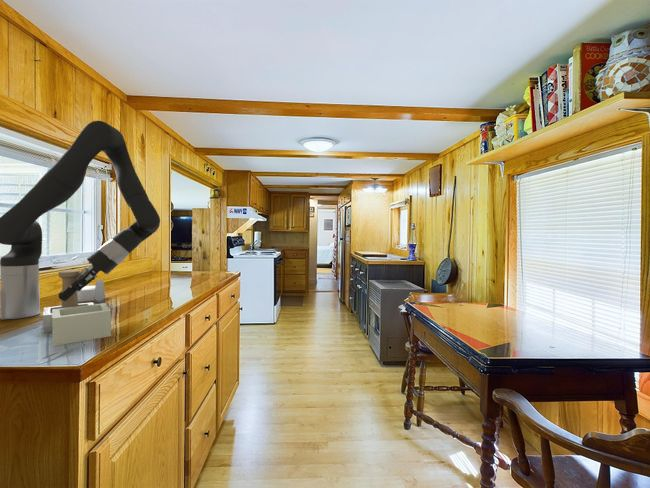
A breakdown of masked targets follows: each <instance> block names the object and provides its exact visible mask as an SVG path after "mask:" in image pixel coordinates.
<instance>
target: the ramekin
mask: <svg viewBox="0 0 650 488" xmlns="http://www.w3.org/2000/svg"><path fill="white" fill-rule="evenodd" d="M95 286H96V284H95V285H86V286H85V287H84V288H82V289H81V290H80V291H77V296H78V303H89V302H94V295H95Z"/></svg>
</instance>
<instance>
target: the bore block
mask: <svg viewBox="0 0 650 488" xmlns="http://www.w3.org/2000/svg"><path fill="white" fill-rule="evenodd" d="M93 304H94V301H89V302H80V303H78V306H85V305H93ZM59 308H62V305H56V306H48V307H43V313H42V325H43V326H42V327H43V331H42V332H43V334H47V333H53V328H52V309H59Z"/></svg>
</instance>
